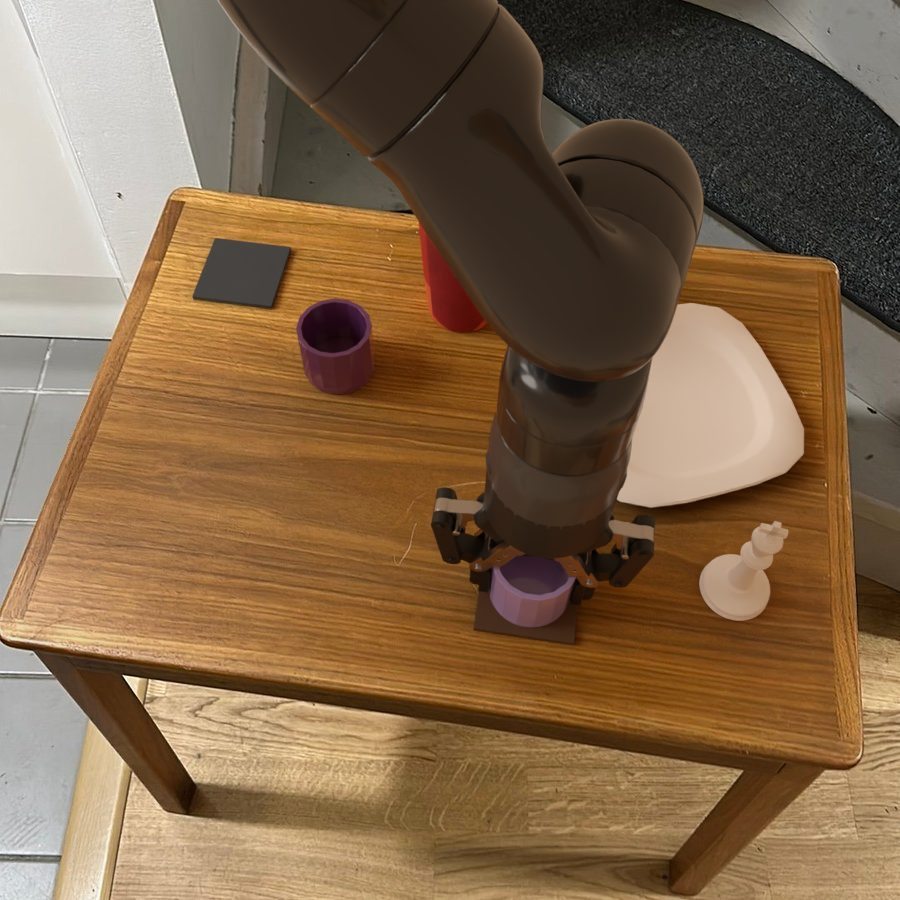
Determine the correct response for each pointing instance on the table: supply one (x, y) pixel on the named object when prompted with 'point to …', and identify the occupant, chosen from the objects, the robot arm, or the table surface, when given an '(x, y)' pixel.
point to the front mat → (553, 632)
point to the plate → (709, 415)
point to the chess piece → (743, 575)
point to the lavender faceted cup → (530, 590)
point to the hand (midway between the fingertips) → (529, 585)
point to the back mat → (242, 273)
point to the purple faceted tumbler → (336, 345)
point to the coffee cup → (446, 293)
